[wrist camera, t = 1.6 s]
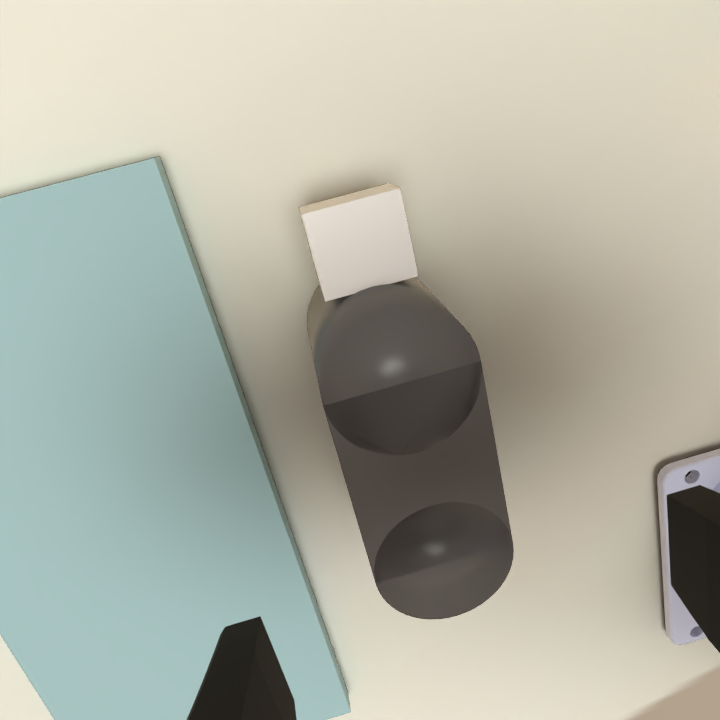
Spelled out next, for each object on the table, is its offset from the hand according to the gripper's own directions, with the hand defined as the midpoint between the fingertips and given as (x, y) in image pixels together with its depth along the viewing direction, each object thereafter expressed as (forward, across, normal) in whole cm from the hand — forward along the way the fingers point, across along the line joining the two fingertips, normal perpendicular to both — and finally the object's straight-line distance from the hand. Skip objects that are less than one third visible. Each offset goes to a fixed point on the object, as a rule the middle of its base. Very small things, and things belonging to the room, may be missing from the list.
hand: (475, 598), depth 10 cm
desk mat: (+8, +8, +2) cm, 12 cm away
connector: (+8, 0, 0) cm, 8 cm away
